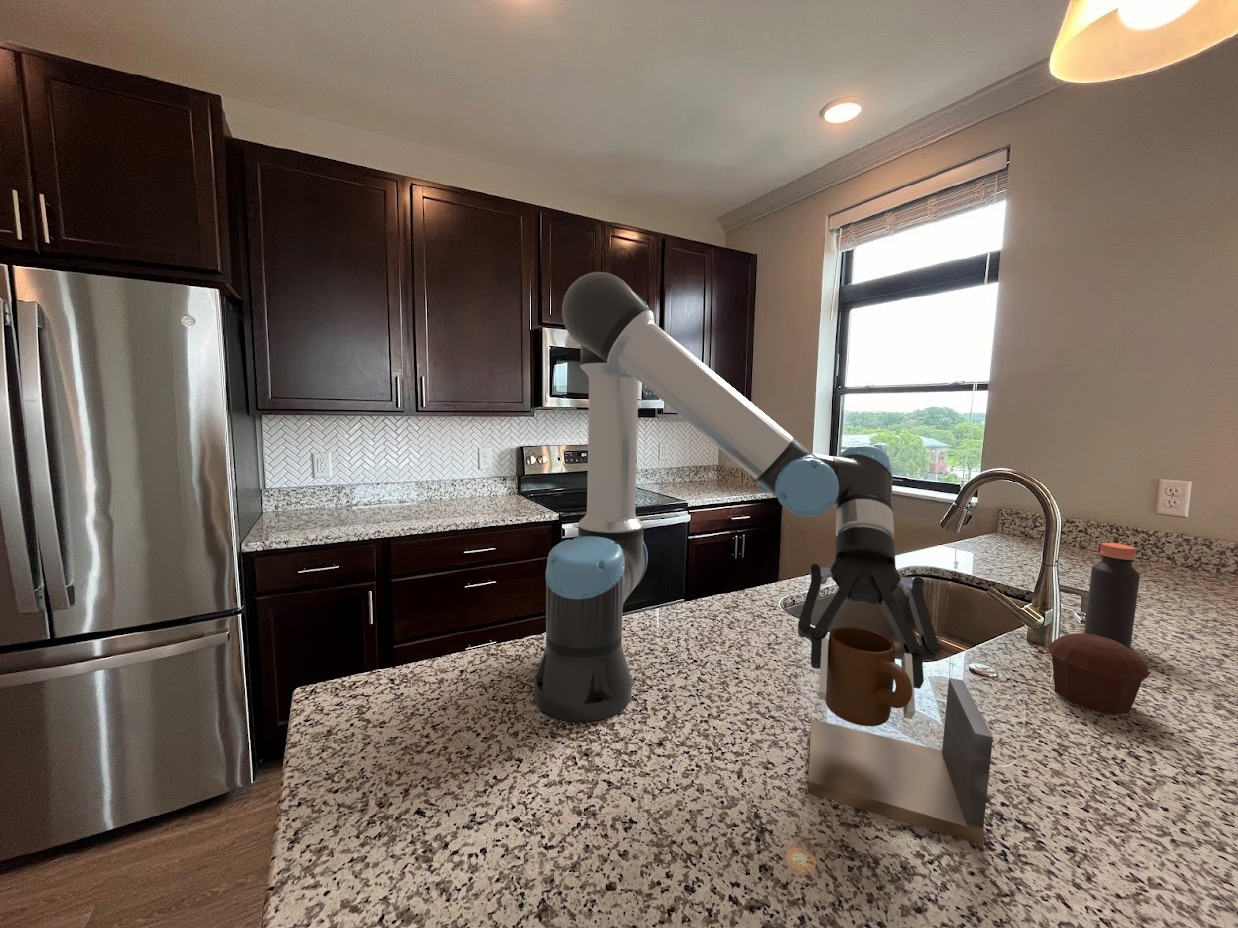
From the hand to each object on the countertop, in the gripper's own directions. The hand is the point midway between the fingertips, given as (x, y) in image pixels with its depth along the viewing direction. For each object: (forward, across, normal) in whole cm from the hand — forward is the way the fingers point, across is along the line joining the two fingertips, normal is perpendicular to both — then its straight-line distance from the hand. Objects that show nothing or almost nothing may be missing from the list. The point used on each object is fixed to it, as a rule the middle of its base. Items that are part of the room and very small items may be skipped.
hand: (864, 704), depth 57 cm
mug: (0, -1, -5) cm, 5 cm away
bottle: (-38, -48, -54) cm, 82 cm away
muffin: (-18, -35, -34) cm, 53 cm away
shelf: (+5, -3, -10) cm, 11 cm away
